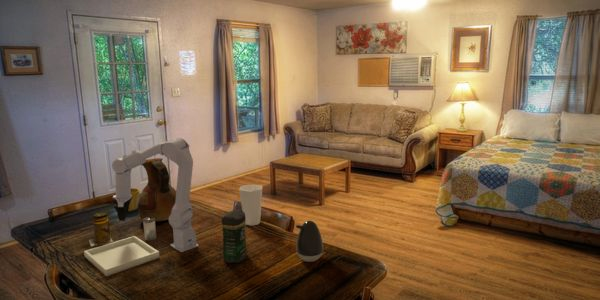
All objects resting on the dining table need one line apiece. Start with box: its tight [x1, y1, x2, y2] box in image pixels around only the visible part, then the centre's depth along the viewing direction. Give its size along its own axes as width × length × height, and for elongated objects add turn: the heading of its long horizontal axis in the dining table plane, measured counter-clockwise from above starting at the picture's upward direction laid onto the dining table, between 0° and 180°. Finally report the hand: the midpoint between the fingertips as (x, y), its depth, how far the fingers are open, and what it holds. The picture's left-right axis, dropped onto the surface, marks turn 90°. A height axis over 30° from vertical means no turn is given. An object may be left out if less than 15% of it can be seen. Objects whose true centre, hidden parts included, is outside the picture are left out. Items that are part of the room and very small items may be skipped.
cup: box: [238, 183, 263, 226], centre depth 193 cm, size 11×10×17 cm
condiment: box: [88, 212, 114, 247], centre depth 176 cm, size 7×8×12 cm
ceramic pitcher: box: [137, 157, 176, 223], centre depth 198 cm, size 20×20×30 cm
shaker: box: [142, 217, 157, 242], centre depth 178 cm, size 5×5×9 cm
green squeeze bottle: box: [221, 209, 248, 264], centre depth 158 cm, size 10×8×19 cm
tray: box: [83, 235, 160, 277], centre depth 162 cm, size 22×20×2 cm
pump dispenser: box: [295, 220, 324, 263], centre depth 156 cm, size 10×10×15 cm
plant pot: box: [128, 187, 141, 212], centre depth 216 cm, size 10×10×10 cm
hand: (123, 216), depth 175 cm, fingers open, 7 cm apart
